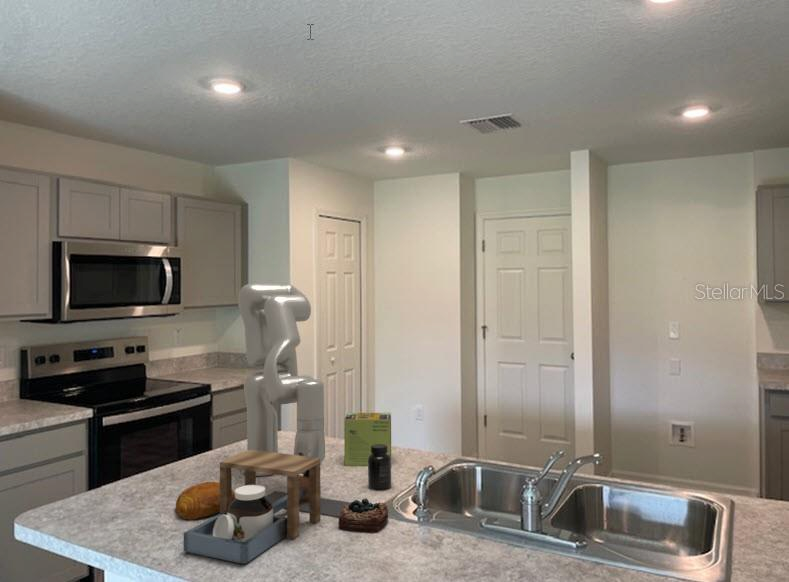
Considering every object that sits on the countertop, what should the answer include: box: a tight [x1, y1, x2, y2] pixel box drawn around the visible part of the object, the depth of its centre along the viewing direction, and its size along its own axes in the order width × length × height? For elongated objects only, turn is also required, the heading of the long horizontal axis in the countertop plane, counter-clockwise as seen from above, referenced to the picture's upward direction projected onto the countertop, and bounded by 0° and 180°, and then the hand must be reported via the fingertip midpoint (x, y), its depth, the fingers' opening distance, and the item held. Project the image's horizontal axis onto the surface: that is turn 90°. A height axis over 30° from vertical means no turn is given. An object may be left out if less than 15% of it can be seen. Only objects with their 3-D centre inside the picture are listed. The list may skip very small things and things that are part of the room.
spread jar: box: [213, 484, 273, 542], centre depth 136 cm, size 12×11×12 cm
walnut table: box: [219, 450, 322, 540], centre depth 147 cm, size 21×12×16 cm, turn 67°
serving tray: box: [183, 474, 309, 565], centre depth 145 cm, size 16×38×7 cm, turn 157°
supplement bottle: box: [367, 444, 392, 491], centre depth 174 cm, size 7×7×12 cm
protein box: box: [343, 412, 392, 467], centre depth 200 cm, size 10×15×16 cm
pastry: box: [338, 498, 389, 534], centre depth 147 cm, size 11×12×6 cm
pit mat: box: [265, 490, 351, 519], centre depth 160 cm, size 26×10×1 cm, turn 67°
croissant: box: [175, 481, 235, 520], centre depth 157 cm, size 14×16×8 cm
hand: (310, 490), depth 165 cm, fingers closed
